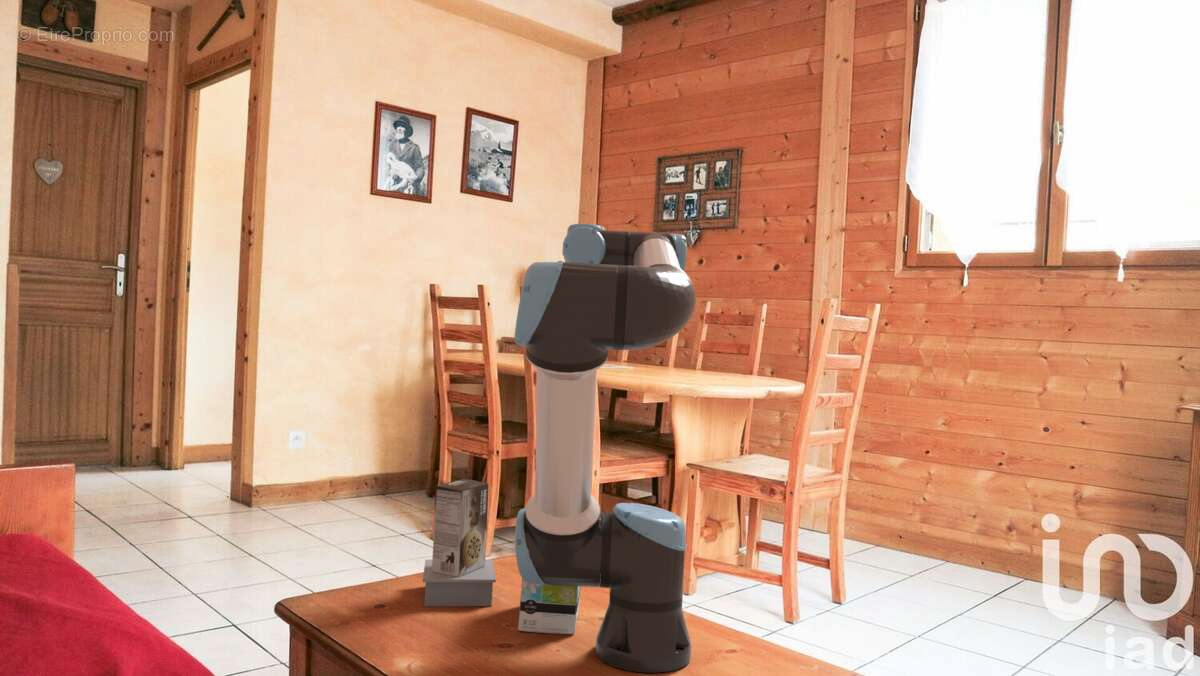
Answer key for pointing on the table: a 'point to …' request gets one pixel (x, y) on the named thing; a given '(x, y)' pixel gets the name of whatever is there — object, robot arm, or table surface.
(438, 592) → the grey plinth
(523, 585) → the tea box
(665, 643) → the robot arm
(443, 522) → the coffee box
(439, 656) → the table surface
